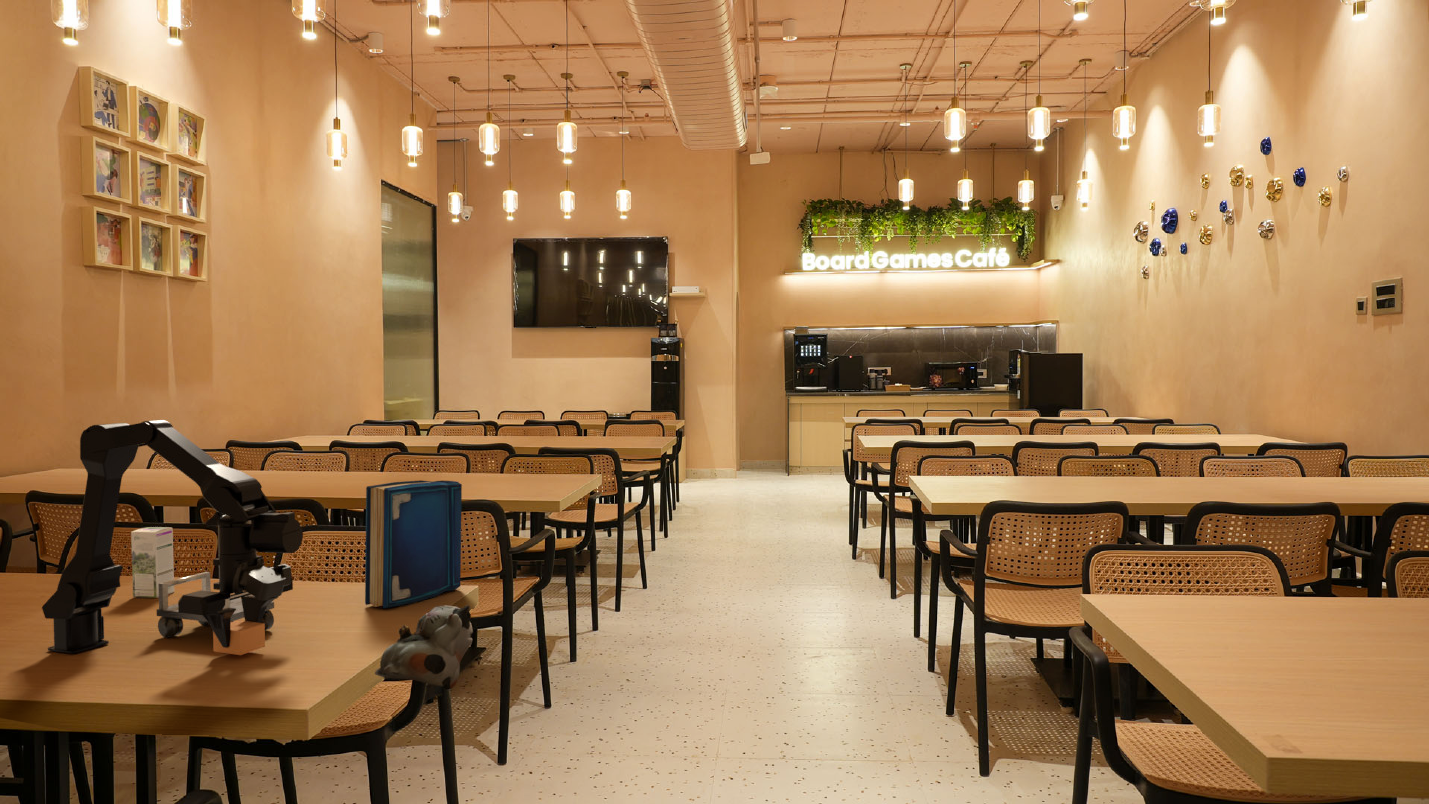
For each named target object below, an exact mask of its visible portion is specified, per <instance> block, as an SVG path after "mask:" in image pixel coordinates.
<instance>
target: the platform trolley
mask: <svg viewBox="0 0 1429 804" xmlns="http://www.w3.org/2000/svg"><path fill="white" fill-rule="evenodd" d="M200 579H201V590H202V591H211V572H210V571H204V572H201V573H200V572H199V573H196V574H193V575H188V576H184V577H180V578H176V579H175V578H174V580H171V581H167V582H163V583H159V597H158V608H157V609H156V617H160V618H159V619H158V621H157V628H158V632H159V634H160V635H161V636H162V637H164V638H168V639H169V638H171V637H174V636H175V637H176V636H177V635H180V634H181V633H182V632H183V629H184V621H183V620H186V621H187V620H189V621H195V622H196V621H197V622H198V624H200V625H201V626H203V627H204V626H205V627H207V626H210V625H209V623H208V622H207V620H206V619H205V618H204V616H203V615H195V614H187V613H178V603H175V604H172V605H169V594H168V587H170V586H174V587H175V586H176V585H181V584H186V583H188V582H189V583H190V582H192V581H193V582H194V581H197V580H200ZM230 608H236V610H235V612H234V613H233V615H232V616H231V622H234V621H237V620H241V619H245V617H244V612H243V606H242V600H241V598H237V599H234V600H230ZM272 609H275V601H272V602H271V603H270V604H269V605H268V606H267V608H266V610H265V612H264V615H263V618H262V620H261V623H265V631H268V630H270V629H271V628H272V627H273V626H274V623H275V619H274V618H275V617H274V613H272V611H271V610H272ZM211 630H212V631H211V632H212V635H213V629H211Z"/></svg>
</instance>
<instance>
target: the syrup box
mask: <svg viewBox="0 0 1429 804" xmlns="http://www.w3.org/2000/svg"><path fill="white" fill-rule="evenodd" d="M173 531H174V530H173V527H167V526H165V527H162V526H159V527H158V526H155V527H154V526H153V527H152V526H150V527H148V526H147V527H146V526H145V527H141V528H138V529H135V530H133V531H130V532H131V533H130V536H131V543H130V544H131V568H132V569H131V572H132V597H133V598H144V599H145V598H147V599H148V598H150V599H151V598H152V599H155V598H157V599H159V583H163V582H167V581H171V580H175V576H174V575H175V574H174V573H175V571H174V569H175V568H174V565H175V564H174V532H173ZM172 593H175V585H174V586H170V587H168V595H170V594H172Z"/></svg>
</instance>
